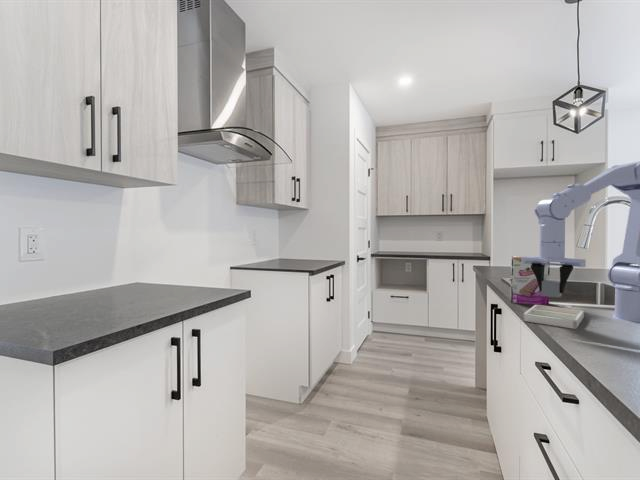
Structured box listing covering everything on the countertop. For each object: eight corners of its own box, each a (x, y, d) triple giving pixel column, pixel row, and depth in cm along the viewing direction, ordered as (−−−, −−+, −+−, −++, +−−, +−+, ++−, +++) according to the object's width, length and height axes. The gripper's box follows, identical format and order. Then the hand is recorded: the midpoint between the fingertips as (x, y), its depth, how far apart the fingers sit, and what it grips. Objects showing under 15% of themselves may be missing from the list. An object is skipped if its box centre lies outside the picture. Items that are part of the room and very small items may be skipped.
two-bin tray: (535, 312, 107) (535, 304, 107) (583, 319, 99) (583, 310, 98) (522, 322, 96) (523, 313, 96) (576, 331, 88) (576, 321, 88)
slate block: (544, 293, 97) (544, 279, 97) (561, 295, 94) (561, 280, 94) (541, 295, 94) (541, 281, 94) (559, 297, 92) (559, 282, 91)
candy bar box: (510, 304, 118) (511, 257, 117) (510, 301, 122) (510, 255, 122) (549, 307, 113) (550, 257, 112) (547, 304, 117) (548, 256, 117)
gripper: (518, 242, 96) (518, 290, 96) (583, 243, 86) (582, 297, 86) (524, 241, 101) (524, 287, 101) (586, 242, 91) (586, 293, 91)
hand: (551, 291), depth 94 cm, fingers closed on slate block, 4 cm apart
